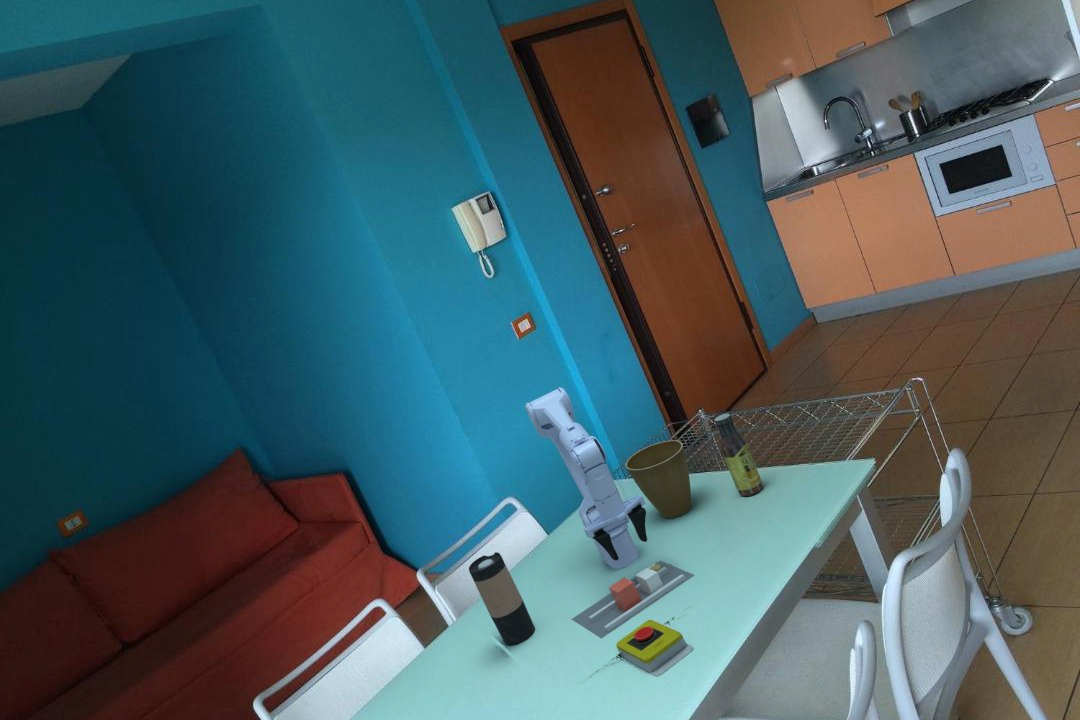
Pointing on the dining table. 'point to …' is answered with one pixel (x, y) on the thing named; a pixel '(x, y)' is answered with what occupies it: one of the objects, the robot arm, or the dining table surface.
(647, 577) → the lever
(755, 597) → the dining table surface
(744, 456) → the sauce bottle
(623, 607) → the block
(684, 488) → the plant pot
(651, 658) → the emergency button
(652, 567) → the panel
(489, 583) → the travel mug
